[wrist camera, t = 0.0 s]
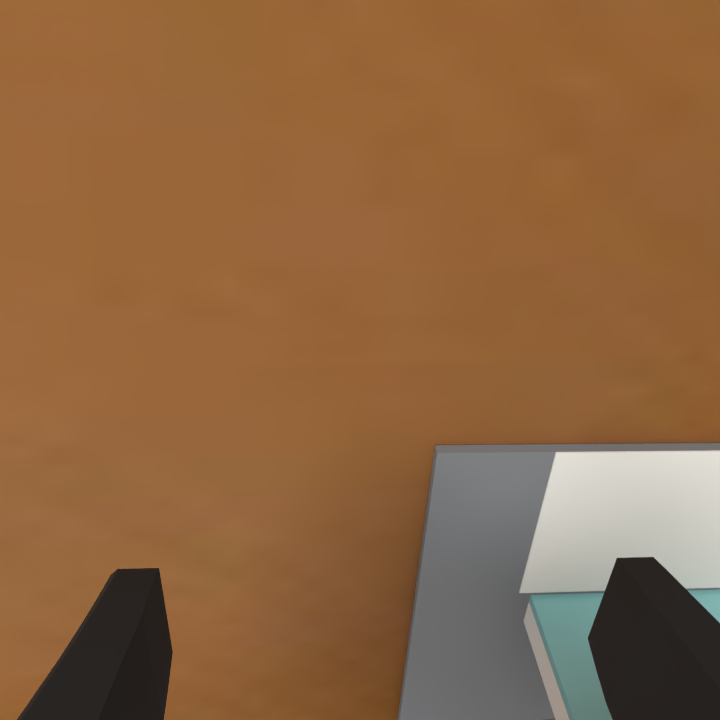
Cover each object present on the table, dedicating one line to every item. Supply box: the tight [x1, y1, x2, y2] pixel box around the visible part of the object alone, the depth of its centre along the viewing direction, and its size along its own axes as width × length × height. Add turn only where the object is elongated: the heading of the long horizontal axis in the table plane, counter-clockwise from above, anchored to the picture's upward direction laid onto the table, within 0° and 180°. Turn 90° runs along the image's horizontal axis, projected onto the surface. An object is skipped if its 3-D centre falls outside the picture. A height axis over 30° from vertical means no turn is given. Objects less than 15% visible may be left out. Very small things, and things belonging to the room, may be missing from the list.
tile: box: [524, 590, 720, 720], centre depth 24 cm, size 2×9×6 cm, turn 88°
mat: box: [398, 443, 720, 720], centre depth 27 cm, size 16×18×1 cm
